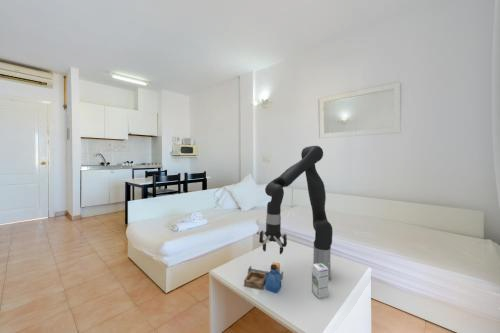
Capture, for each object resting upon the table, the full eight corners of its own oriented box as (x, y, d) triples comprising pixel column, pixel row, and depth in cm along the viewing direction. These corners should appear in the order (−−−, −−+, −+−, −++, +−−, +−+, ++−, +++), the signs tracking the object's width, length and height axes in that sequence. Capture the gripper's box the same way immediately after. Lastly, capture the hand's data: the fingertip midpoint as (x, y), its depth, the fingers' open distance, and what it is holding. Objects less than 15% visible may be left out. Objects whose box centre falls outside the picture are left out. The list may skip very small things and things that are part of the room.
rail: (283, 276, 120) (283, 271, 120) (281, 280, 116) (282, 275, 116) (250, 270, 126) (250, 266, 126) (248, 273, 122) (248, 269, 122)
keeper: (267, 279, 117) (267, 273, 117) (262, 289, 107) (262, 284, 107) (250, 276, 120) (250, 270, 120) (244, 286, 110) (244, 280, 110)
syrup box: (328, 296, 102) (329, 267, 102) (318, 299, 101) (318, 269, 100) (321, 289, 108) (321, 262, 107) (311, 291, 106) (311, 263, 105)
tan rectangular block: (279, 273, 120) (279, 263, 120) (278, 277, 117) (278, 266, 116) (266, 270, 123) (266, 261, 123) (265, 274, 119) (265, 264, 119)
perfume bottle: (276, 293, 104) (276, 270, 104) (265, 289, 108) (265, 266, 107) (281, 287, 110) (281, 264, 109) (270, 283, 113) (271, 261, 112)
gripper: (288, 221, 110) (287, 251, 110) (262, 218, 114) (261, 247, 115) (285, 225, 103) (284, 258, 103) (258, 222, 107) (257, 252, 108)
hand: (272, 252), depth 109 cm, fingers open, 8 cm apart
